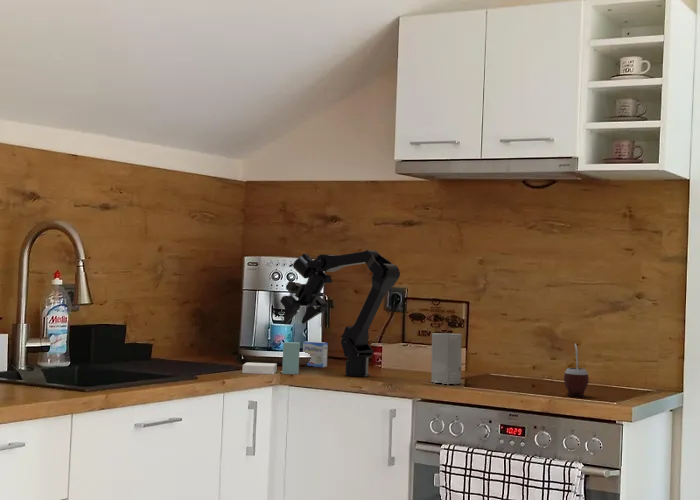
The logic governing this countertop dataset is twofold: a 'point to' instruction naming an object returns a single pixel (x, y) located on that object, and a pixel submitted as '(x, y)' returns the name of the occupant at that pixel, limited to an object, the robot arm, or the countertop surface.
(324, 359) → the medicine box
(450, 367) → the skincare box
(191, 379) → the countertop surface
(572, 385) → the mate gourd
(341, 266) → the robot arm
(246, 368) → the grey plinth
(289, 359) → the teal block
